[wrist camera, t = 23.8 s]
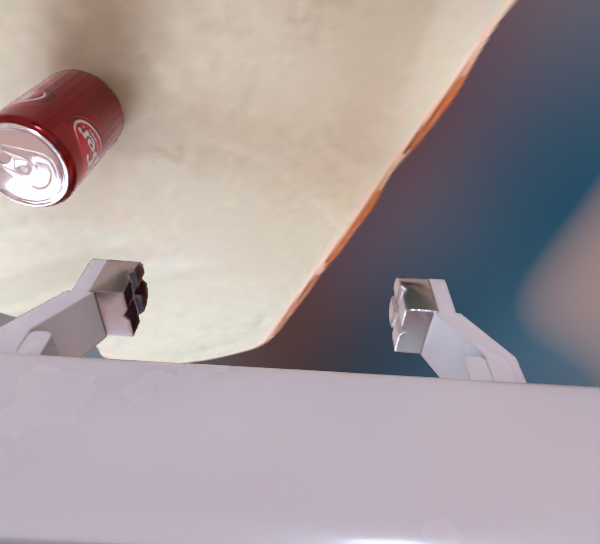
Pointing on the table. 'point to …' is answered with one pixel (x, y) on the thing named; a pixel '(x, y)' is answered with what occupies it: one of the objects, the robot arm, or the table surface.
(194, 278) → the table surface
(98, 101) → the soda can
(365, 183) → the table surface
